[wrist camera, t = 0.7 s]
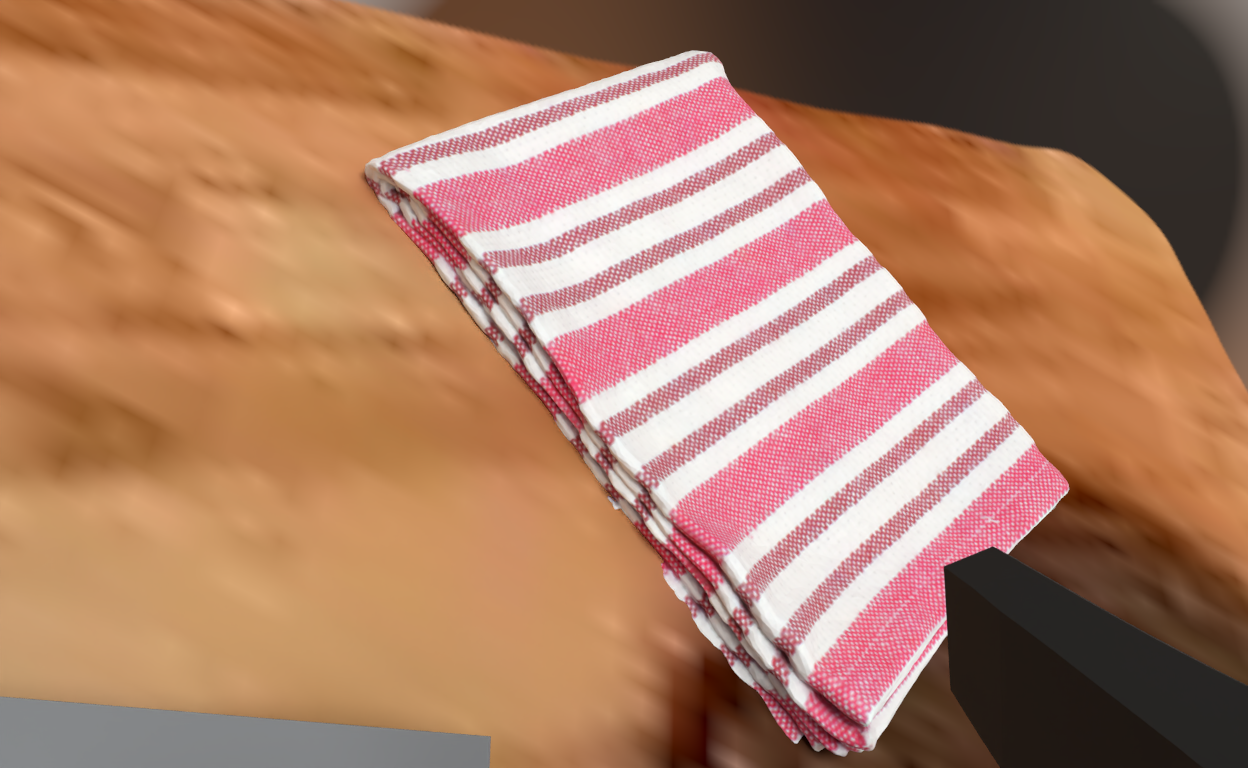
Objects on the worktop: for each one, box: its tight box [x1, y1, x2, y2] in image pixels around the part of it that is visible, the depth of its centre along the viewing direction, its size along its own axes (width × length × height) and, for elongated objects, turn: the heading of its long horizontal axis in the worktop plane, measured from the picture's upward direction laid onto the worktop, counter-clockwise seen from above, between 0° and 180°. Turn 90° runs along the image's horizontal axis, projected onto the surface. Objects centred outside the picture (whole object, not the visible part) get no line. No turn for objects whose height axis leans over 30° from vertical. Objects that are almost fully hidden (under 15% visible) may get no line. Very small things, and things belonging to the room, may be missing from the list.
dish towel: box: [365, 51, 1069, 756], centre depth 36 cm, size 17×23×4 cm
